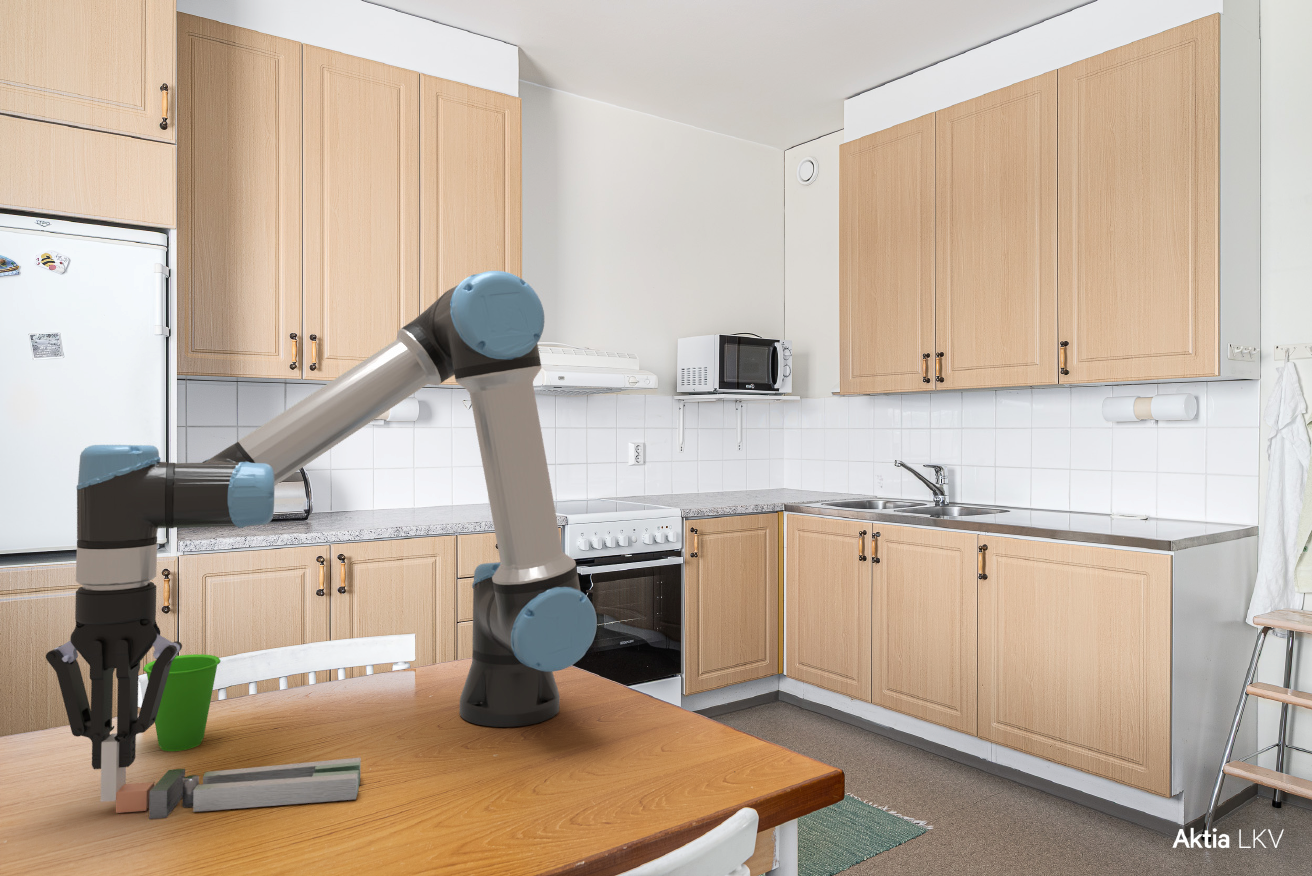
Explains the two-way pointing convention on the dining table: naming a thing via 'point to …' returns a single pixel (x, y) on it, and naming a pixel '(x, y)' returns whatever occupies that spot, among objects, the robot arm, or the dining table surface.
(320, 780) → the tongs base
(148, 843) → the dining table surface
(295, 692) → the dining table surface
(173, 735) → the cup
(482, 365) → the robot arm
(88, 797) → the dining table surface
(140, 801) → the tab
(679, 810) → the dining table surface
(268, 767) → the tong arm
